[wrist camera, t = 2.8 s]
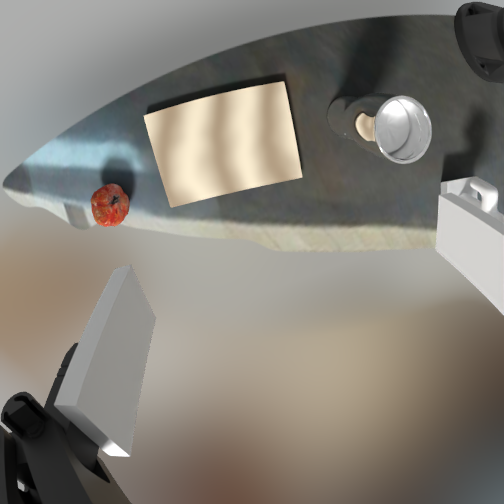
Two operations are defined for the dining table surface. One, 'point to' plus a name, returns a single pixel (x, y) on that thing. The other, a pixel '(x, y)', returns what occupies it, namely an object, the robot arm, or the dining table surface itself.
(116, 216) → the pomegranate
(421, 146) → the beer glass
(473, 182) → the figurine
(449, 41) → the dining table surface
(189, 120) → the birch board
